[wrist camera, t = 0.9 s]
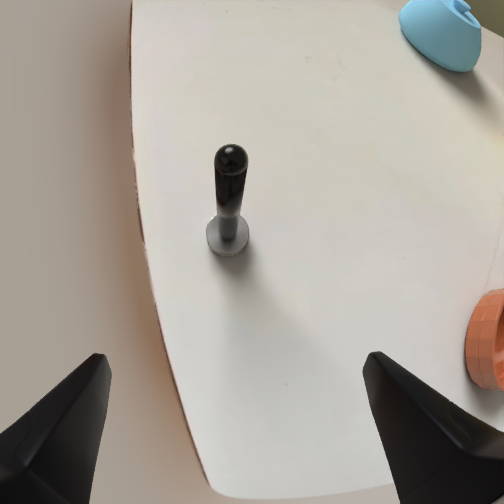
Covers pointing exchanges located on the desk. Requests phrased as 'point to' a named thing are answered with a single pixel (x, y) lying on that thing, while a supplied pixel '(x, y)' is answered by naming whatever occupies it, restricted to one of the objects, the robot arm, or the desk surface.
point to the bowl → (487, 342)
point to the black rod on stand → (229, 202)
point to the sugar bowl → (443, 32)
